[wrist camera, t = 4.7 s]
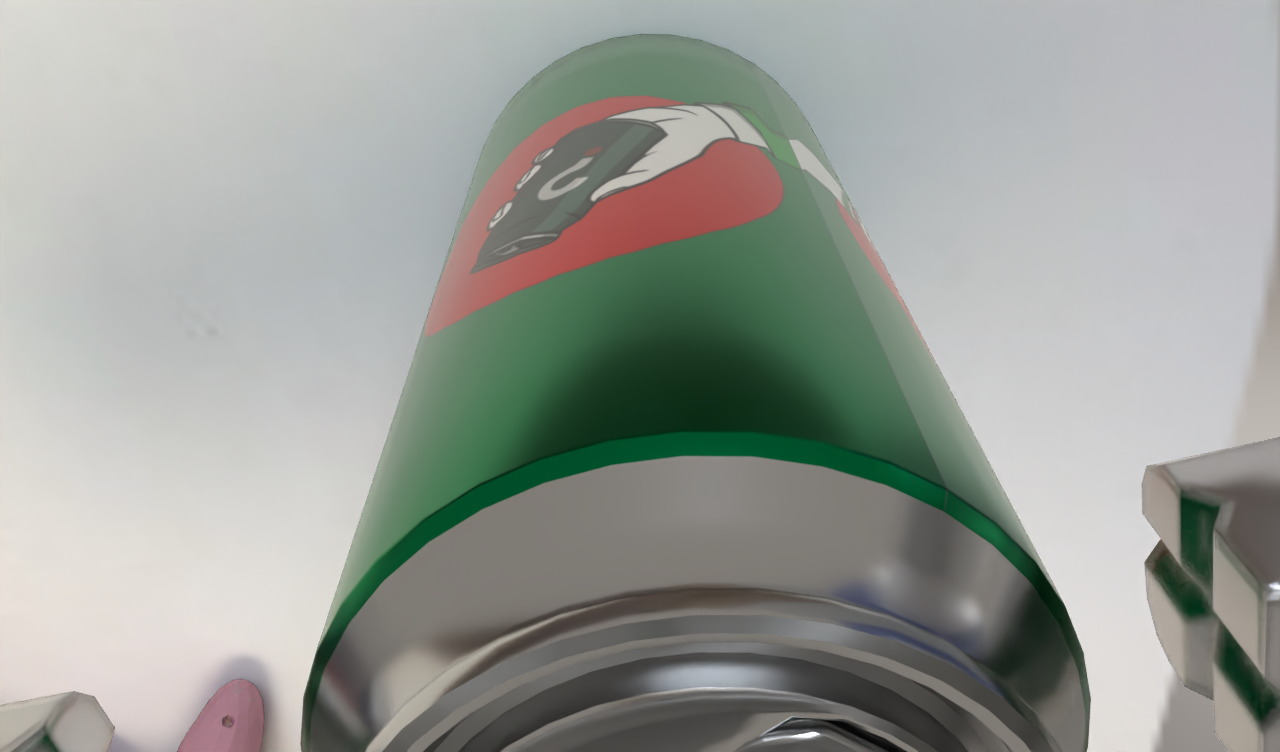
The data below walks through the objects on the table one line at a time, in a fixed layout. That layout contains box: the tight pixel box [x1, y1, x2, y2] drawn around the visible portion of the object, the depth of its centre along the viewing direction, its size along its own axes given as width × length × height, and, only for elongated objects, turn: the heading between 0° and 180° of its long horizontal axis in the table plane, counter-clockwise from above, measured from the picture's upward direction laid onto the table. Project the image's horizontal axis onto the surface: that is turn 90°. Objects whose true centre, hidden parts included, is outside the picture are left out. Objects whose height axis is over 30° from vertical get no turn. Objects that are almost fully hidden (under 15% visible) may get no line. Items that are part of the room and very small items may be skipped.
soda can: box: [301, 34, 1091, 752], centre depth 12 cm, size 5×5×12 cm
